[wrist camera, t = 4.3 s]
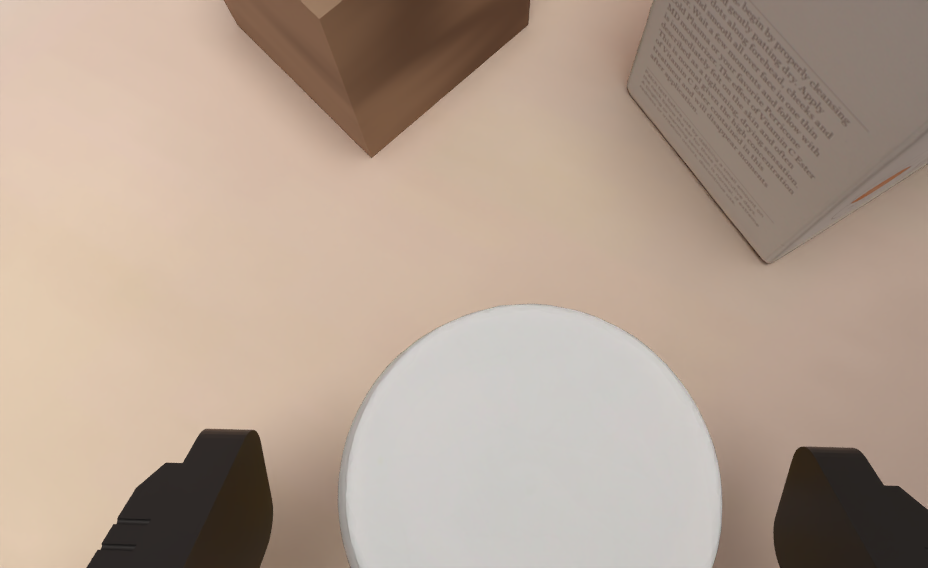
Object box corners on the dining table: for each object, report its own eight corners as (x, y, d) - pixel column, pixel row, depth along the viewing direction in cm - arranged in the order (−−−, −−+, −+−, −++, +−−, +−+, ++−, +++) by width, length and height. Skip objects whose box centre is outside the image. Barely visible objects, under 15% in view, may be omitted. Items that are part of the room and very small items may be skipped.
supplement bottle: (617, 627, 16) (797, 838, 6) (381, 593, 16) (225, 745, 7) (631, 387, 17) (795, 272, 8) (415, 362, 17) (325, 223, 8)
